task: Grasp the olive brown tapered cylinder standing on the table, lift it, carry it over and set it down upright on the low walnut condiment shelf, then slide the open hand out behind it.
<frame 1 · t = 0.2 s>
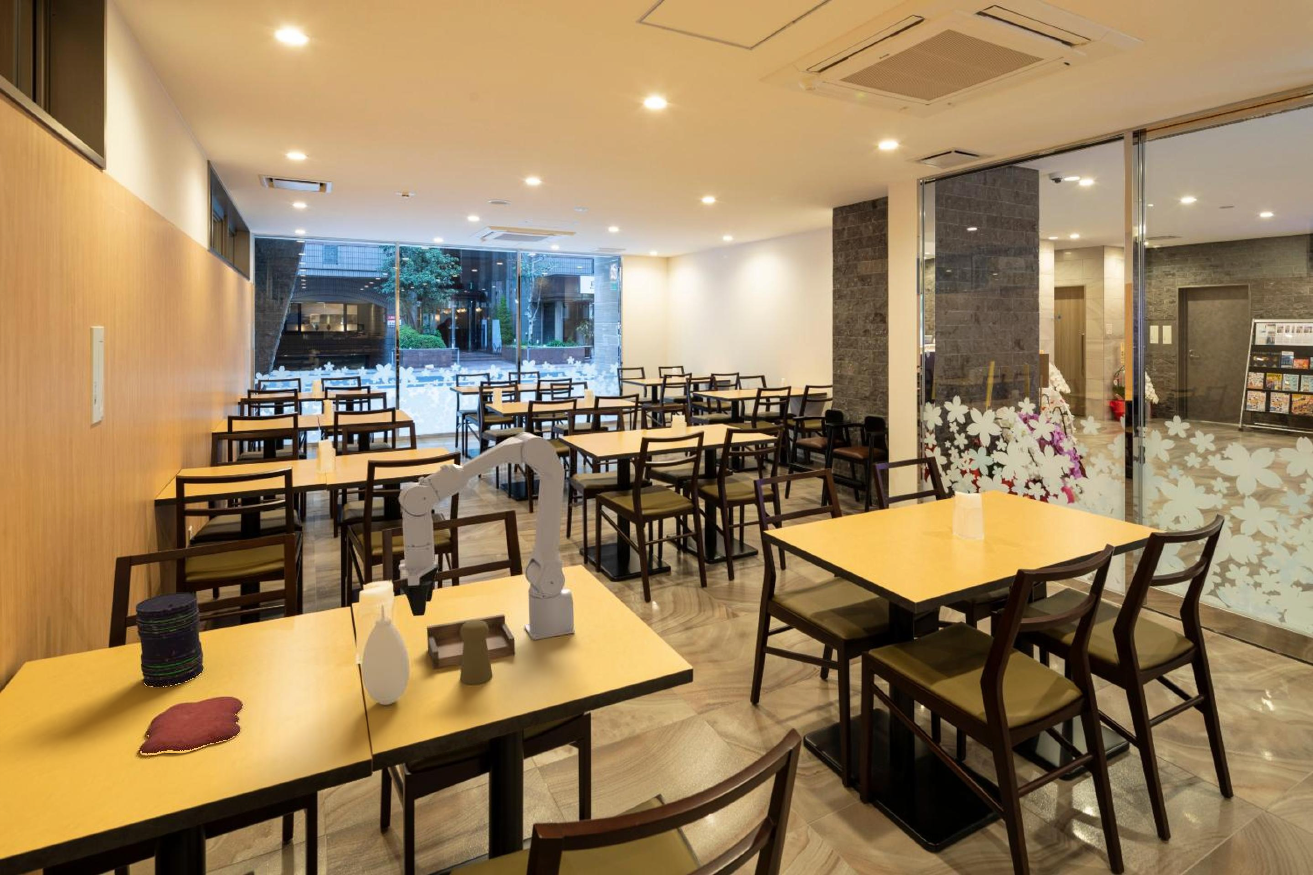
hand: (422, 607, 144), 10 cm above the table, tool pointing down, fingers open, 7 cm apart
olive brown tapered cylinder: (476, 678, 135), on the table
condiment shelf: (471, 651, 146), on the table
patty: (195, 729, 118), on the table
navy chip stack: (174, 676, 136), on the table
white egg-shaped bulb: (388, 703, 126), on the table
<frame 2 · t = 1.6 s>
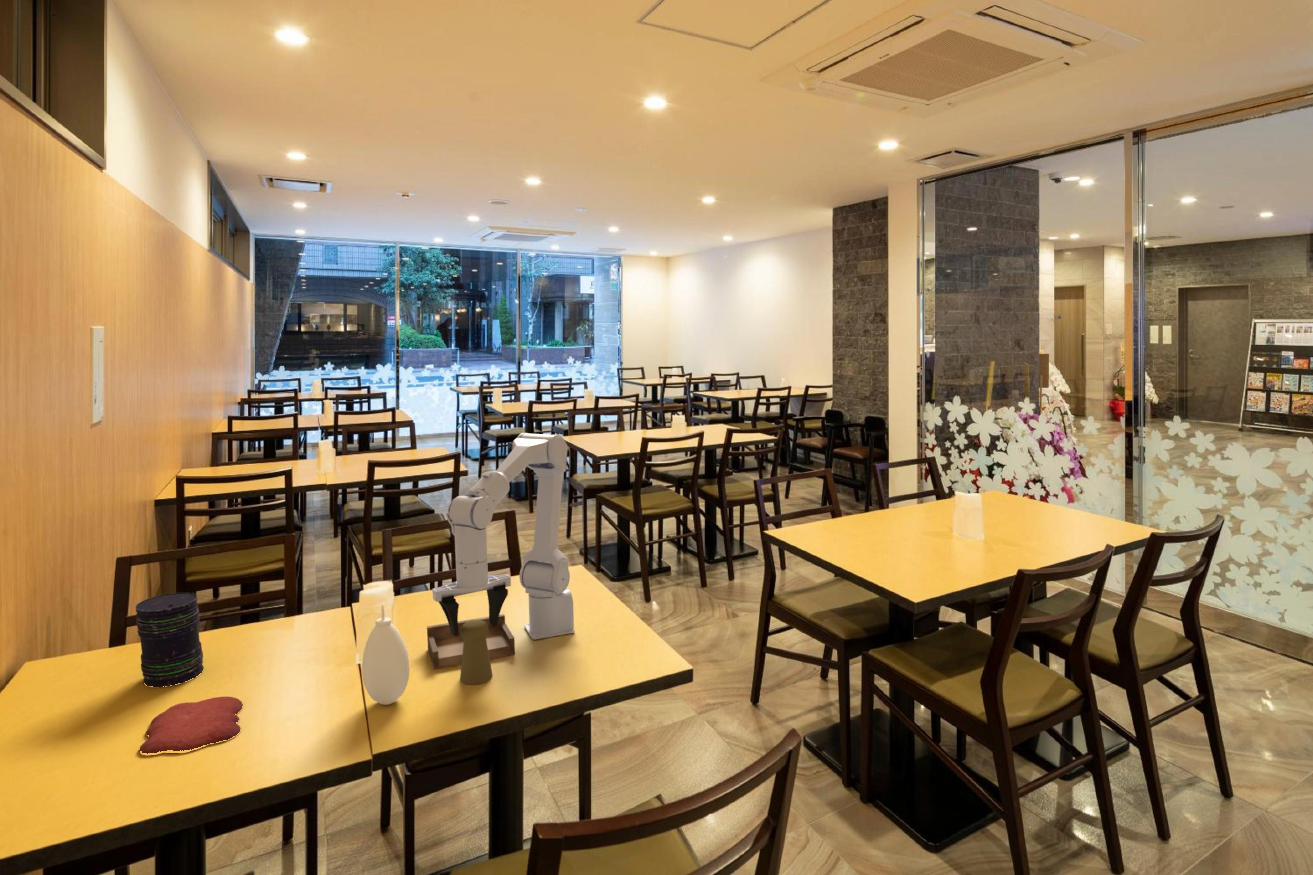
hand: (474, 629, 134), 10 cm above the table, tool pointing down, fingers open, 7 cm apart
nothing on the table moved.
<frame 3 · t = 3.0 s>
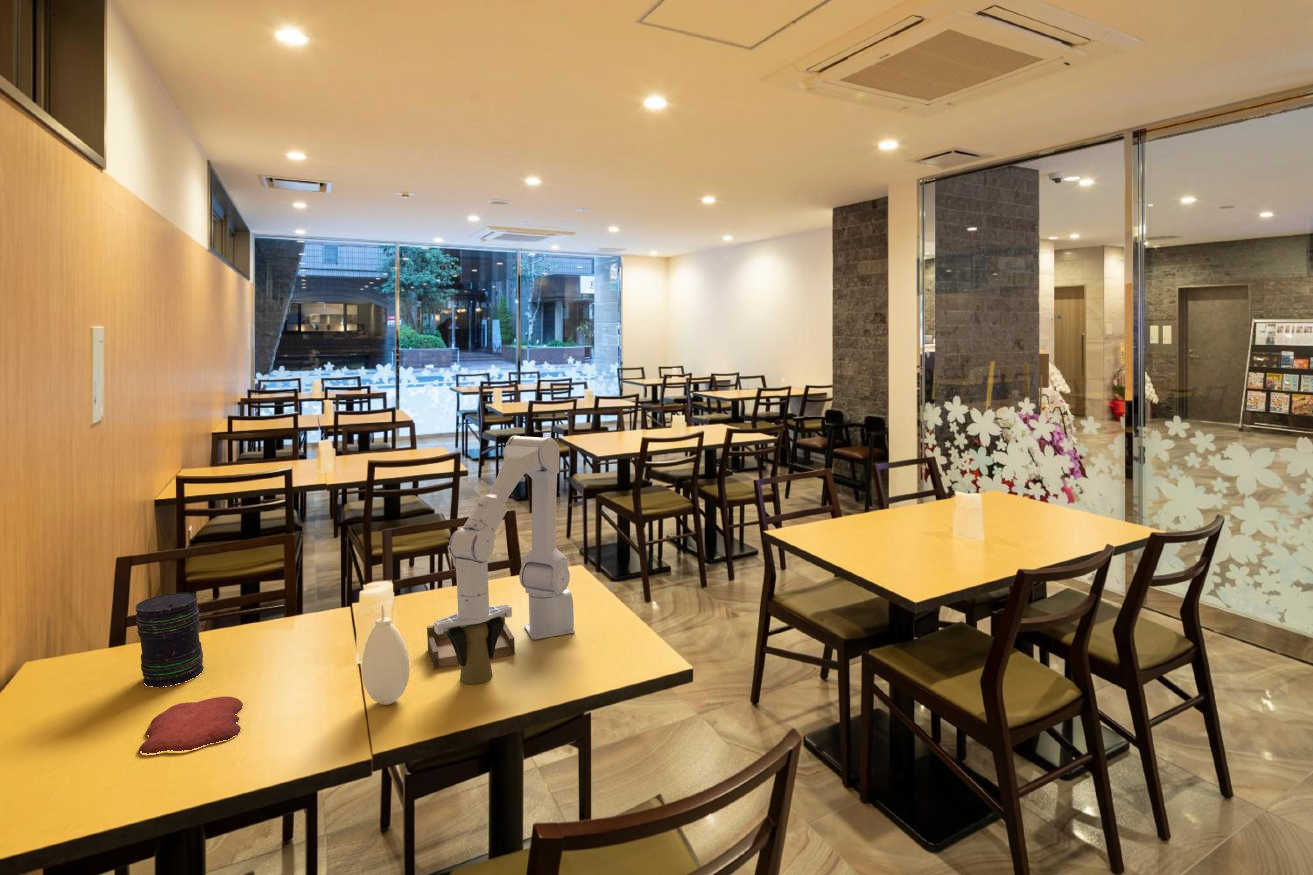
hand: (475, 660, 135), 3 cm above the table, tool pointing down, fingers closed on olive brown tapered cylinder, 5 cm apart
olive brown tapered cylinder: (476, 678, 135), on the table, touching gripper
everything else where it was.
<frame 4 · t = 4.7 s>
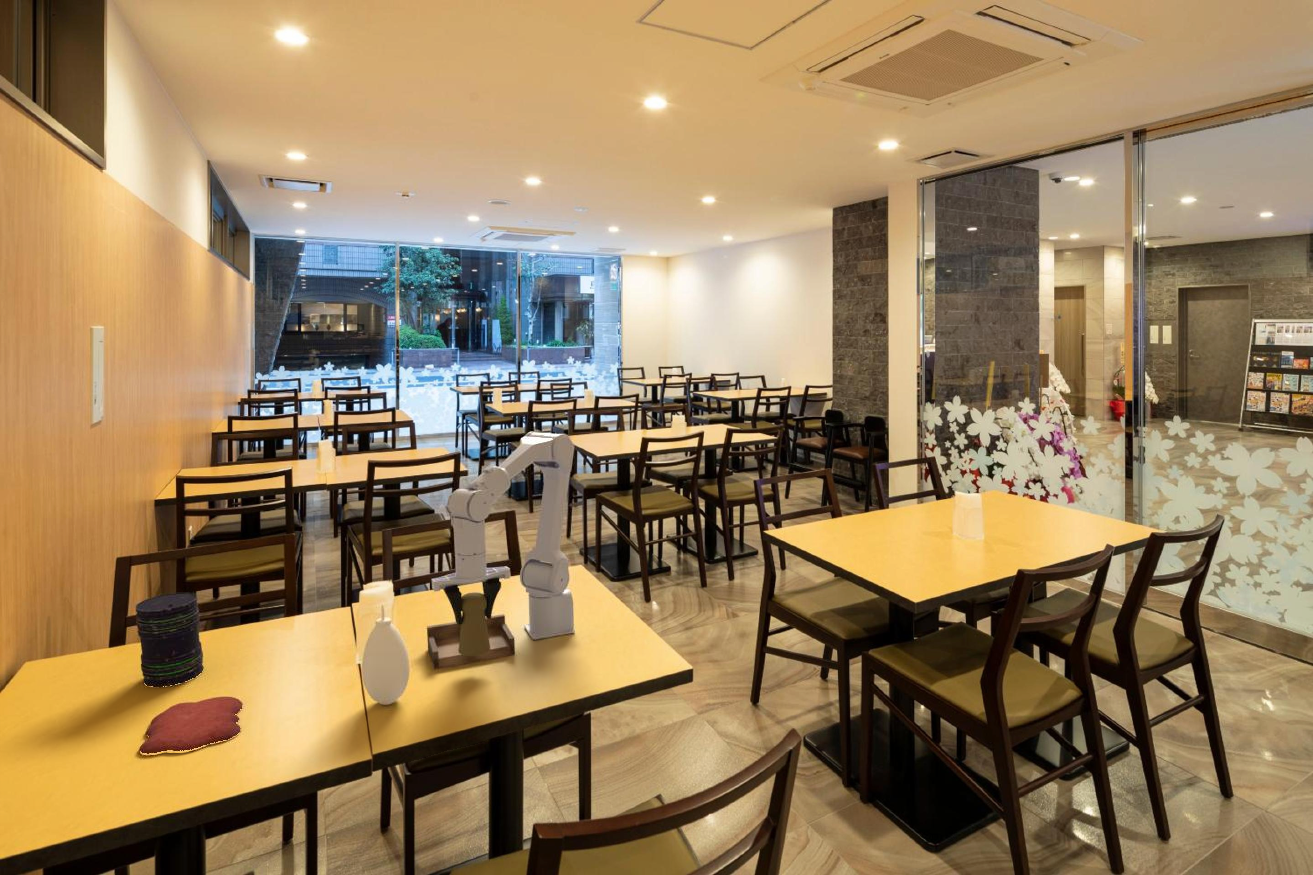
hand: (473, 619, 137), 10 cm above the table, tool pointing down, fingers closed on olive brown tapered cylinder, 5 cm apart
olive brown tapered cylinder: (474, 650, 137), point 4 cm above the table, touching gripper
everything else where it was.
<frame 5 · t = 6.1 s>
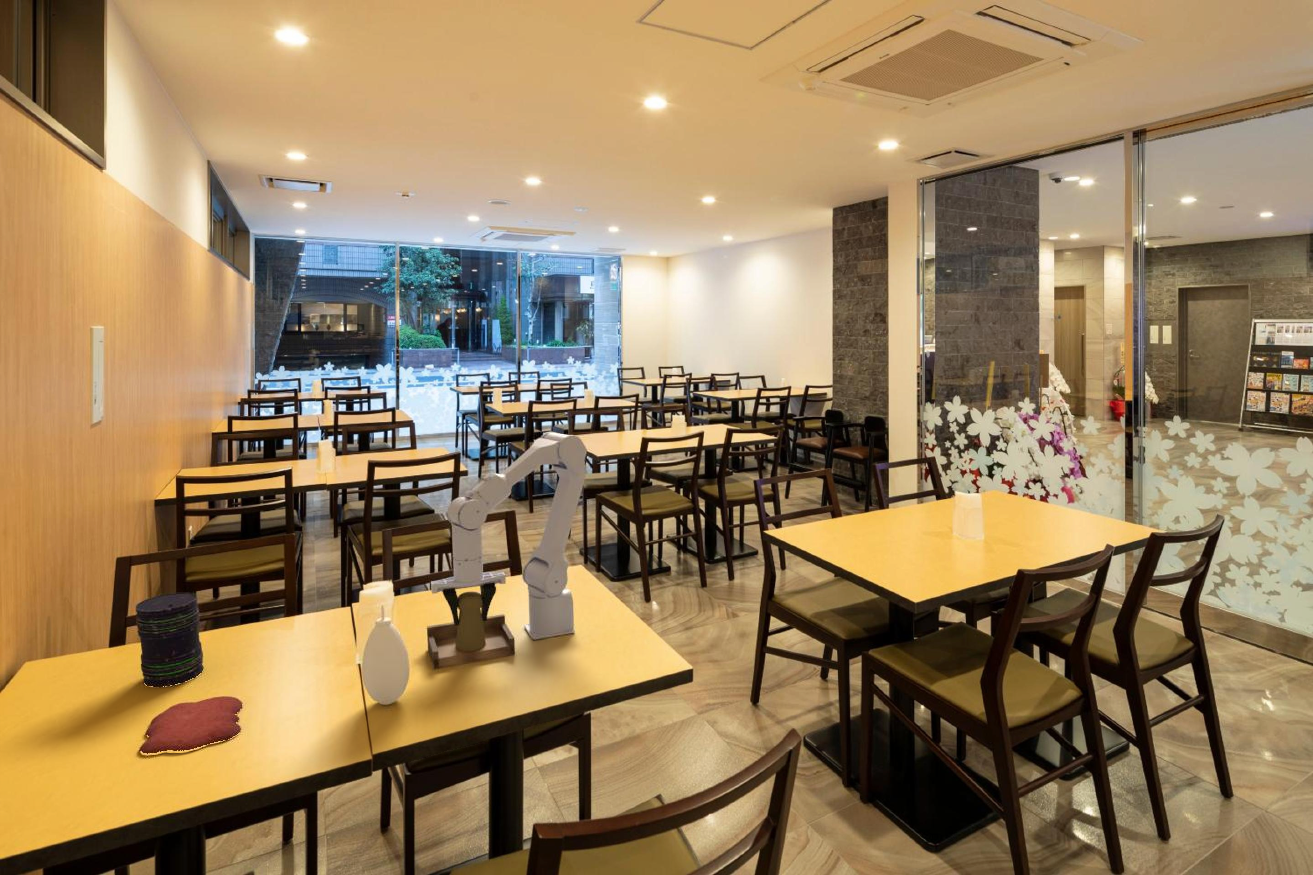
hand: (470, 621, 144), 7 cm above the table, tool pointing down, fingers closed on olive brown tapered cylinder, 5 cm apart
olive brown tapered cylinder: (470, 646, 145), point 2 cm above the table, touching condiment shelf, gripper
everything else where it was.
when the fingers open (7 cm above the table, at t = 6.7 s): olive brown tapered cylinder stays where it is, resting on condiment shelf.
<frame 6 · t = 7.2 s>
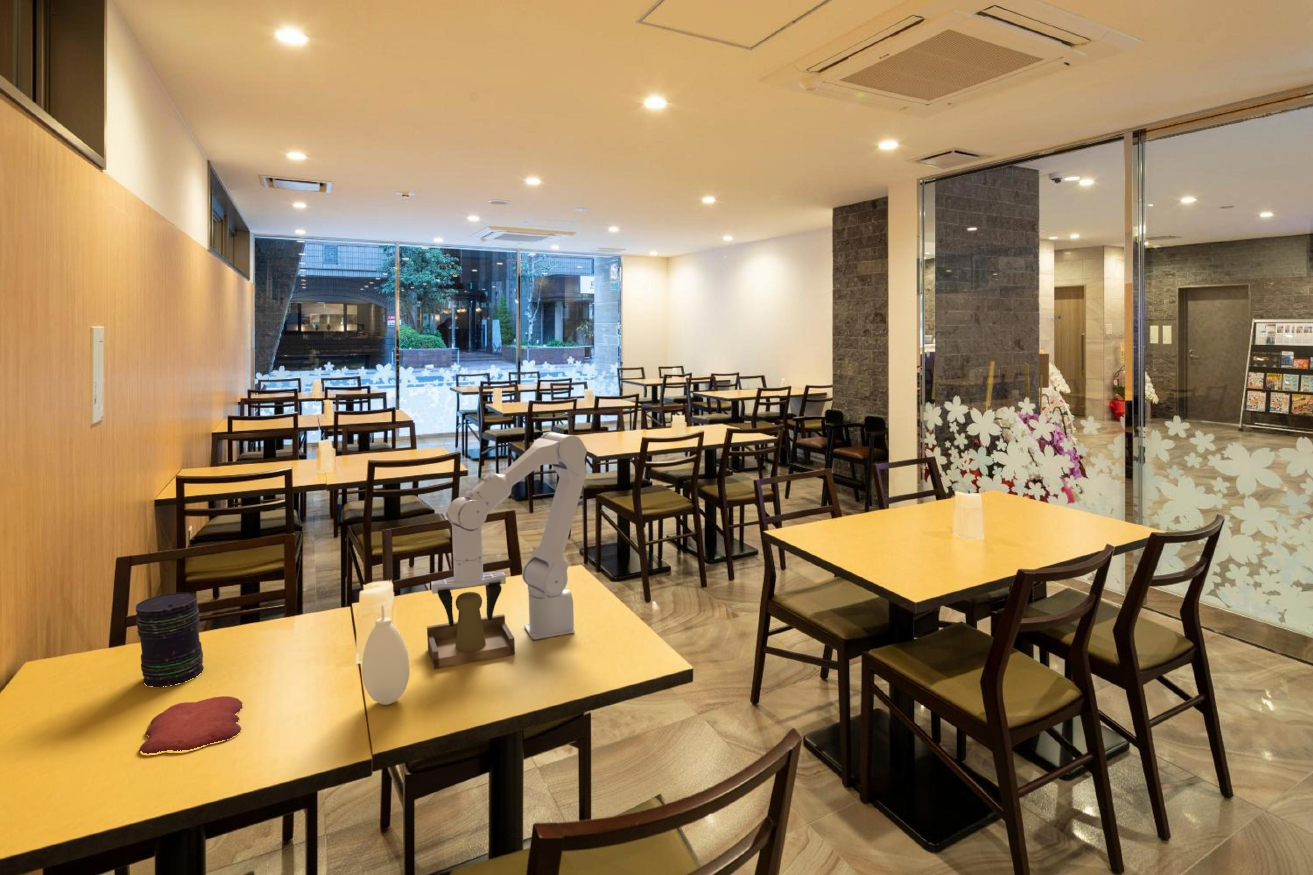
hand: (470, 621, 145), 7 cm above the table, tool pointing down, fingers open, 7 cm apart
olive brown tapered cylinder: (470, 646, 145), point 2 cm above the table, touching condiment shelf
everything else where it was.
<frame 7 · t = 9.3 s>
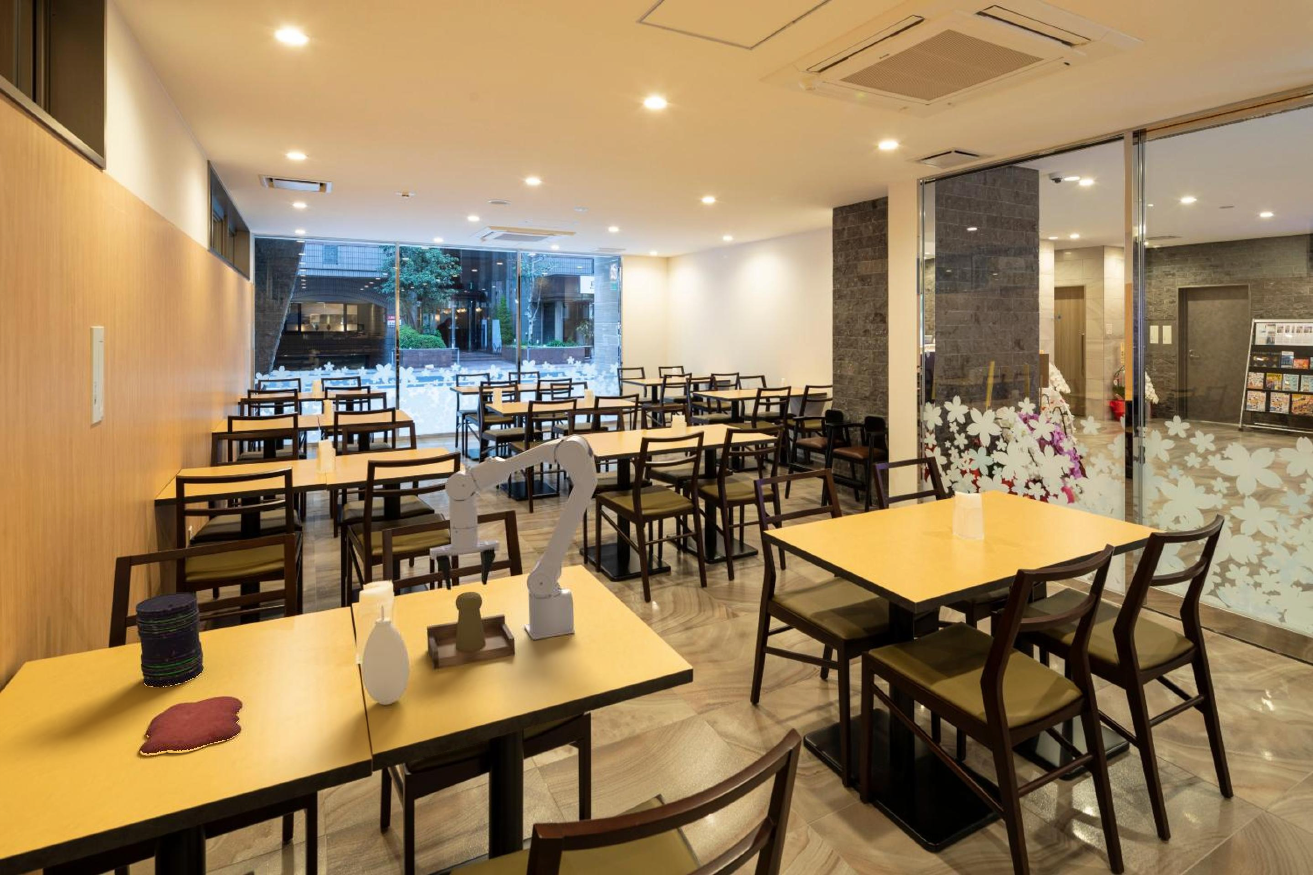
hand: (466, 585, 156), 10 cm above the table, tool pointing down, fingers open, 7 cm apart
nothing on the table moved.
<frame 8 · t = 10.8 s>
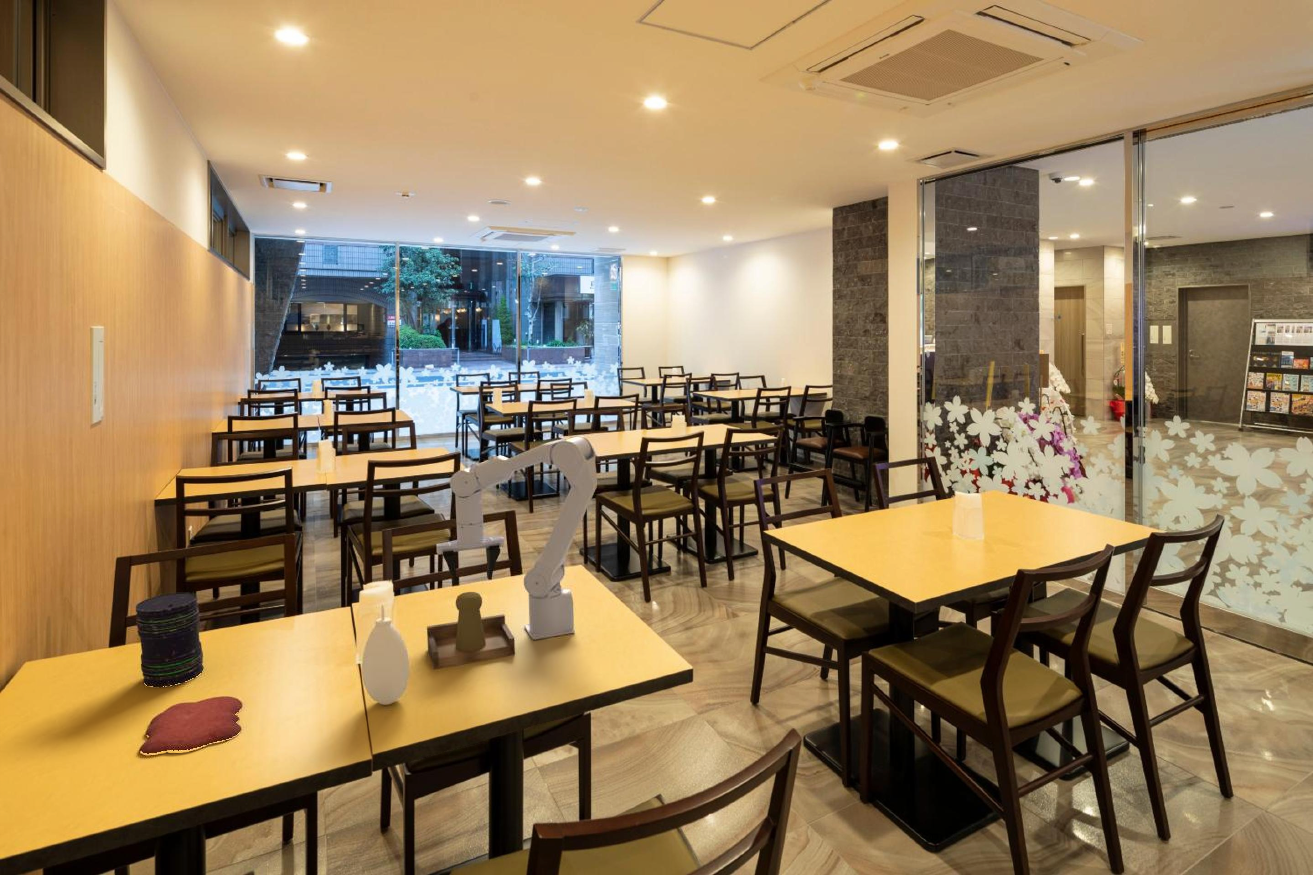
hand: (472, 580, 159), 10 cm above the table, tool pointing down, fingers open, 7 cm apart
nothing on the table moved.
at the end: olive brown tapered cylinder inside the target area on the condiment shelf (1.0 cm from its centre), point 1.8 cm above the condiment shelf's base; olive brown tapered cylinder tilted 0°; the gripper is holding nothing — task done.
